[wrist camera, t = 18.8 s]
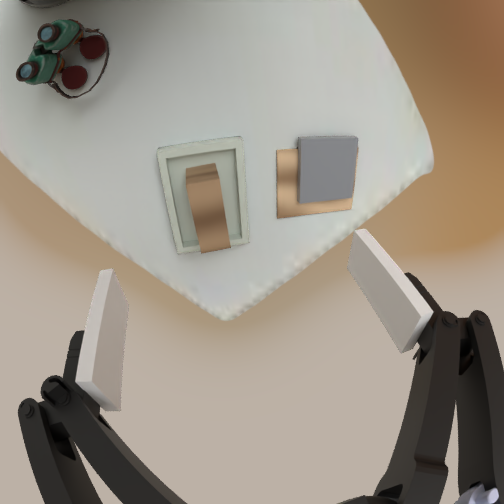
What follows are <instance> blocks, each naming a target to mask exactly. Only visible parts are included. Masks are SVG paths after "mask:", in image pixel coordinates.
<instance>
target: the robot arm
mask: <svg viewBox="0 0 504 504" xmlns="http://www.w3.org/2000/svg"><path fill="white" fill-rule="evenodd" d="M19 1H21V2H22V3H24V4H26V5H30V6H34V7H40V8H45V7H52V6H56V5H59V4H62V3H65V2H67V1H69V0H19ZM347 269H348V270H349V272H350V273H351V275H352V276H353V278H354V279H355V281H356V282H357V284H358V285H359V287H360V289H361V290H362V292H363V293H364V295H365V296H366V298H367V299H368V301H369V302H370V304H371V305H372V307H373V309H374V310H375V312H376V314H377V315H378V317H379V318H380V320H381V322H382V323H383V325H384V326H385V328H386V329H387V331H388V333H389V335H390V336H391V338H392V340H393V341H394V343H395V345H396V346H397V348H398V350H399V351H400V353H404V352H406V351H409V350H411V349H413V347H414V346H415V344H416V342H418V344H419V345H420V347H419V349H418V350H417V352H416V353H415V355H414V357H413V359H415V358H416V357H417V360H416V365H415V371H414V376H413V381H412V386H411V391H410V395H409V399H408V403H407V408H406V411H405V415H404V419H403V422H402V426H401V430H400V433H399V436H398V440H397V443H396V446H395V449H394V452H393V455H392V458H391V461H390V464H389V466H388V469H387V471H386V473H385V475H384V476H383V477H382V479H381V480H380V482H379V484H378V486H377V488H376V490H375V493H374V495H373V496H365V495H363V496H360V497H356V498H353V499H349V500H346V501H343V502H341V503H338V504H439V502H440V499H441V496H442V493H443V490H444V487H445V483H446V480H447V476H448V467H447V466H446V465H445V457H446V453H447V448H448V444H449V439H450V434H451V428H452V422H453V416H454V409H455V403H456V405H457V418H458V444H459V445H458V446H459V458H458V460H459V461H458V487H459V495H460V497H459V499H458V501H456V502H455V503H454V504H504V370H503V365H502V361H501V357H500V353H499V349H498V346H497V342H496V339H495V335H494V332H493V329H492V326H491V323H490V320H489V318H488V316H487V315H486V314H485V313H484V312H482V311H479V310H475V311H473V312H472V313H471V315H470V316H469V318H457V316H455V315H454V314H453V313H451V312H447V311H442V309H441V308H440V306H439V305H438V304H437V303H436V301H435V300H434V299H433V297H432V296H431V295H430V294H429V292H427V290H426V289H425V287H424V286H422V284H421V282H420V281H419V280H418V279H417V278H416V277H415V276H413V275H412V274H411V273H403V272H402V271H401V269H400V268H399V267H398V266H397V265H396V263H395V262H394V261H393V260H392V259H391V257H390V256H389V255H388V254H387V253H386V251H385V250H384V249H383V248H382V247H381V246H380V245H379V243H378V242H377V241H376V240H375V239H374V238H373V237H372V235H371V234H370V233H369V232H368V231H367V230H366V229H360V230H354V234H353V240H352V246H351V251H350V256H349V261H348V266H347ZM128 310H129V304H128V301H127V299H126V297H125V295H124V293H123V290H122V288H121V286H120V283H119V281H118V279H117V276H116V274H115V272H114V269H113V268H112V269H106V270H101V271H100V274H99V277H98V280H97V284H96V288H95V291H94V295H93V299H92V303H91V306H90V311H89V314H88V319H87V323H86V327H85V330H84V331H76V332H75V334H74V335H73V337H72V339H71V341H70V345H69V351H68V354H67V359H66V364H65V369H64V374H63V378H62V377H60V376H57V375H54V376H50V377H48V378H47V379H46V380H45V381H44V382H43V384H42V387H41V396H42V398H43V399H44V400H45V401H42V402H39V403H38V402H36V401H35V400H34V399H32V398H27V399H25V400H23V401H22V402H21V404H20V405H19V409H18V417H19V421H20V426H21V431H22V434H23V439H24V443H25V447H26V450H27V454H28V457H29V461H30V464H31V467H32V470H33V473H34V476H35V479H36V482H37V485H38V487H39V490H40V493H41V495H42V498H43V500H44V502H45V504H103V503H102V502H101V500H100V498H99V496H98V494H97V492H96V490H95V488H94V486H93V484H92V482H91V480H90V478H89V476H88V474H87V471H86V469H85V467H84V465H83V463H82V460H81V458H80V455H79V453H78V451H77V448H76V446H75V444H76V445H77V446H78V448H79V449H80V451H81V452H82V454H83V455H84V456H85V458H86V459H87V460H88V462H89V463H90V465H91V466H92V467H93V469H94V470H95V471H96V472H97V474H98V475H99V476H100V477H101V479H102V480H103V481H104V482H105V484H106V485H107V486H108V487H109V488H110V490H111V491H112V492H113V493H114V494H115V495H116V496H117V497H118V499H119V500H120V501H121V502H122V503H123V504H187V503H186V502H184V501H183V500H182V499H181V498H179V497H178V496H177V495H176V494H175V493H174V492H173V491H172V490H171V489H169V488H168V487H167V486H166V485H165V484H164V483H163V482H162V481H160V479H159V478H158V477H157V476H156V475H154V474H153V473H152V472H151V471H150V470H149V469H148V468H147V467H146V466H145V465H144V463H143V462H142V461H141V460H140V459H139V458H138V457H137V456H136V455H135V454H134V453H133V452H132V451H131V450H130V449H129V447H128V446H127V445H126V444H125V443H124V442H123V441H122V439H121V438H120V437H119V436H118V435H117V434H116V432H115V431H114V430H113V429H112V428H111V426H110V425H109V424H108V423H107V421H106V420H105V419H104V418H103V416H102V415H101V414H100V407H102V408H103V409H104V410H105V411H121V385H122V368H123V357H124V356H123V355H124V344H125V336H126V327H127V318H128ZM74 442H75V443H74Z"/></svg>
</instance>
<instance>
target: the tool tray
mask: <svg viewBox="0 0 504 504" xmlns="http://www.w3.org/2000/svg"><path fill="white" fill-rule="evenodd" d="M157 157H158V163H159V168H160V173H161V179H162V184H163V189H164V194H165V199H166V204H167V208H168V213H169V218H170V222H171V227H172V231H173V236H174V240H175V244H176V248H177V252H178V254H182V253H188V252H195V251H201V249H200V245H199V241H198V237H197V233H196V229H195V224H194V220H193V216H192V211H191V207H190V202H189V198H188V193H187V189H186V168H190V167H195V166H200V165H205V164H211V163H215V164H216V168H217V171H218V175H219V179H220V185H221V191H222V197H223V203H224V210H225V216H226V222H227V228H228V234H229V240H230V245H231V246H233V245H239V244H246V243H249V230H248V214H247V198H246V181H245V165H244V149H243V140H242V138H241V137H240V136H238V137H229V138H221V139H213V140H205V141H198V142H191V143H185V144H179V145H173V146H167V147H161V148H158V150H157Z"/></svg>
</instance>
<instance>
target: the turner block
mask: <svg viewBox="0 0 504 504" xmlns="http://www.w3.org/2000/svg"><path fill="white" fill-rule="evenodd" d="M186 189H187V193H188V198H189V202H190V207H191V211H192V216H193V220H194V224H195V229H196V233H197V237H198V241H199V245H200V249H201V253H206V252H211V251H216V250H221V249H226V248H231V245H230V240H229V234H228V228H227V222H226V216H225V210H224V203H223V197H222V191H221V185H220V179H219V175H218V171H217V168H216V164H215V163H211V164H205V165H200V166H195V167H190V168H186Z"/></svg>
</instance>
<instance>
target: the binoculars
mask: <svg viewBox="0 0 504 504" xmlns="http://www.w3.org/2000/svg"><path fill="white" fill-rule="evenodd" d="M83 30H85V31H86V32H97V33H99V34H101V35H102V36H100V35H92V36H89V37H87V38H83ZM98 30H99V29H96V30H95V29H94V30H91V29H89V28H87V29H85V28H84V27H83V25H81V24H80V23H78V21H75V20H72V19H69V20H56V21H54V22H52V23H51V24H49V23H48V24H44V25H42V26H41V27H40V29H39V31H38V39H39V40H38V41H37V42H36V43H35V44H34V47H33V51H32V52H31V54H30V56H29V58H28V60H27V62H25V63H23V64H21V65H20V66H19V68H18V69H17V72H16V78H17V79H18V80H19V81H22V82H23V81H24V82H26V83H28V84H32V85H36V84H41V83H48V85H50V86H51V87H52V88H54V89H55V90H56V91H57V92H58V93H60V94H61V95H62V96H64V97H66V98H68V99H70V98H77V97H79V96H81V95H83V94H85V93H87V92H89V91H91V89H92V88H93V87H94V86H95V85H96V84H97V83H98V82H99V80H100V78H101V76H102V74H103V73H104V70H105V68H106V65H107V61H108V57H109V47H108V41H107V40H106V38H105V36H104V34H102V33H100V32H98ZM78 42H81V43H80V52H81V54H82V55H83V56H84V57H85V58H86V59H96V58H98V57H100V56H101V55H102V54H103V53H104V52H105V51H106V52H107V55H106V60H105V64H104V67H103V69H102V72H101V74H100V76H99V78H98V79H97V81H96V83H95V84H94V85H93V86H92V87H91V88H90V90H89V91H87V92H85V93H83V94H81V95H79V96H69V95H67V94H65V93H64V92H63V91H62V90H61V89H60V88H59V86H58V84H57V83H56V82H54V81H53V79H54V78H55V76H56V74H58V73H62V77H61V78H62V82H63V84H64V86H65V87H66V88H68V89H71V90H74V89H77V88H80V87H81V86H83V85H84V83H85V82H86V80H87V71H86V69H85V68H84V67H82V66H70V67H68V68H66V69H65V68H64V66H65V63H64V60H63V58H62V56H61V54H60V53H61V52H62V51H63V50H65V49H67V48H69V47H70V46H71V45H72V44H76V43H78ZM52 50H60V51H59V52H58V53H53V52H52ZM50 83H54V84H53V85H51V84H50Z"/></svg>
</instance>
